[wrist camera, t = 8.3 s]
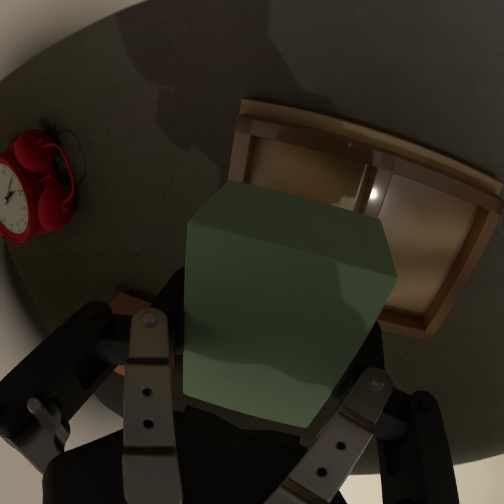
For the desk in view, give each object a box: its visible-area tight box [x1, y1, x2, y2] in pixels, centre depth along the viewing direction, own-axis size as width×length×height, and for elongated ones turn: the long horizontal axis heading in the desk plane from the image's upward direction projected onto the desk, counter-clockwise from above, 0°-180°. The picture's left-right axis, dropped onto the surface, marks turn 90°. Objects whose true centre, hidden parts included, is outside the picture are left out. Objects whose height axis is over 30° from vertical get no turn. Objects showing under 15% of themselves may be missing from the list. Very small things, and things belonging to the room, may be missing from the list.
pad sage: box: [183, 180, 398, 428], centre depth 12 cm, size 9×6×4 cm, turn 170°
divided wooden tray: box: [227, 98, 504, 341], centre depth 19 cm, size 14×18×2 cm
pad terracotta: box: [110, 292, 175, 375], centre depth 30 cm, size 9×6×4 cm, turn 170°
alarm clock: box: [0, 129, 75, 243], centre depth 23 cm, size 10×6×15 cm
